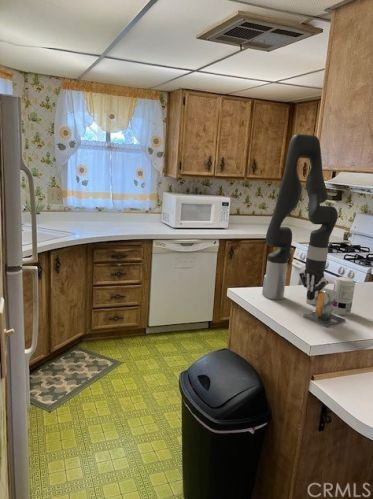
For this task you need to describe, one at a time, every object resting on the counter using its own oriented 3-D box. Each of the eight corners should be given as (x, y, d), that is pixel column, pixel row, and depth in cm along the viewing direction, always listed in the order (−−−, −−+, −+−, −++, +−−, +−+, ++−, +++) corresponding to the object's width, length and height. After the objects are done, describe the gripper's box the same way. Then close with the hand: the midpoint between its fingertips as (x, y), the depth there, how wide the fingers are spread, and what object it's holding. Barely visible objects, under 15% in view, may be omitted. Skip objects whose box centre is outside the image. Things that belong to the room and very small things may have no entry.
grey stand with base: (302, 316, 168) (305, 299, 167) (321, 312, 175) (323, 295, 174) (327, 327, 159) (329, 309, 157) (345, 321, 166) (348, 304, 164)
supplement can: (327, 311, 177) (331, 278, 173) (335, 307, 182) (340, 275, 179) (345, 317, 171) (350, 283, 168) (353, 312, 177) (358, 279, 173)
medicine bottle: (310, 298, 192) (313, 274, 189) (325, 302, 188) (328, 277, 186) (306, 303, 186) (309, 277, 183) (321, 306, 182) (325, 281, 180)
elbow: (320, 304, 170) (323, 283, 168) (335, 308, 167) (338, 286, 165) (309, 313, 160) (312, 290, 158) (325, 317, 156) (328, 294, 154)
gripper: (296, 253, 160) (291, 295, 164) (324, 262, 149) (317, 306, 154) (309, 252, 164) (303, 292, 168) (337, 260, 154) (330, 303, 158)
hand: (310, 299), depth 161 cm, fingers closed
